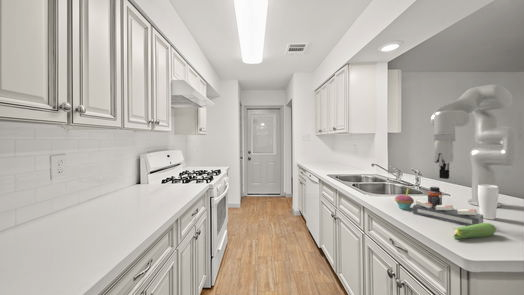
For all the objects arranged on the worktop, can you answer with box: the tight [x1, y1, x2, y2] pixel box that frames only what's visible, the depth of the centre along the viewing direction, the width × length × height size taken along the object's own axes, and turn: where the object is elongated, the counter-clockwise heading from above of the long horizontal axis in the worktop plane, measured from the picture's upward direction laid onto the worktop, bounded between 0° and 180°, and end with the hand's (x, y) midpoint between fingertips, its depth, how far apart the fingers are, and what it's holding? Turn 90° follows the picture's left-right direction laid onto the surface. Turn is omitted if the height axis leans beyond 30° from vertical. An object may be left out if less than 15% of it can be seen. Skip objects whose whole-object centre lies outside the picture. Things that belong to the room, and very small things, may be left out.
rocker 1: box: [415, 199, 432, 208], centre depth 110 cm, size 3×6×2 cm, turn 35°
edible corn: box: [452, 222, 497, 240], centre depth 86 cm, size 5×20×5 cm
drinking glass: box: [478, 184, 500, 221], centre depth 104 cm, size 7×7×15 cm
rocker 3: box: [457, 208, 478, 215], centre depth 97 cm, size 3×6×2 cm, turn 35°
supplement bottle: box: [427, 186, 443, 206], centre depth 120 cm, size 6×6×11 cm
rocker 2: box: [435, 204, 454, 210], centre depth 104 cm, size 3×6×2 cm, turn 35°
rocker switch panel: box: [412, 203, 484, 226], centre depth 105 cm, size 8×24×4 cm, turn 35°
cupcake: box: [394, 186, 415, 211], centre depth 121 cm, size 9×8×12 cm
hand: (444, 178), depth 103 cm, fingers closed
